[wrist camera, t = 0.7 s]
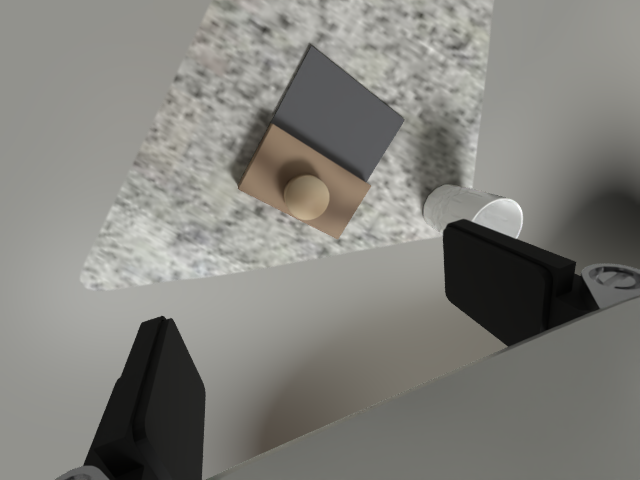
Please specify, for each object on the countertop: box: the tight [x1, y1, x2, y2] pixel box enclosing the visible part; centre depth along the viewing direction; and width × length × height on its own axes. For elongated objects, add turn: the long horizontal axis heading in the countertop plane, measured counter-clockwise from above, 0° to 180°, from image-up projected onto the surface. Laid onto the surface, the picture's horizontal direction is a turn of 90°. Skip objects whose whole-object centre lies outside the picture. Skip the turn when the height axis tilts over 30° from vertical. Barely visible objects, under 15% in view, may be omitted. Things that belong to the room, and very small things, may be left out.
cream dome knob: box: [284, 174, 329, 220], centre depth 37 cm, size 5×5×2 cm
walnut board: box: [238, 123, 371, 239], centre depth 38 cm, size 8×14×2 cm, turn 58°
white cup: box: [423, 184, 523, 239], centre depth 42 cm, size 8×8×10 cm
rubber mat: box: [271, 46, 404, 182], centre depth 37 cm, size 9×14×1 cm, turn 58°
